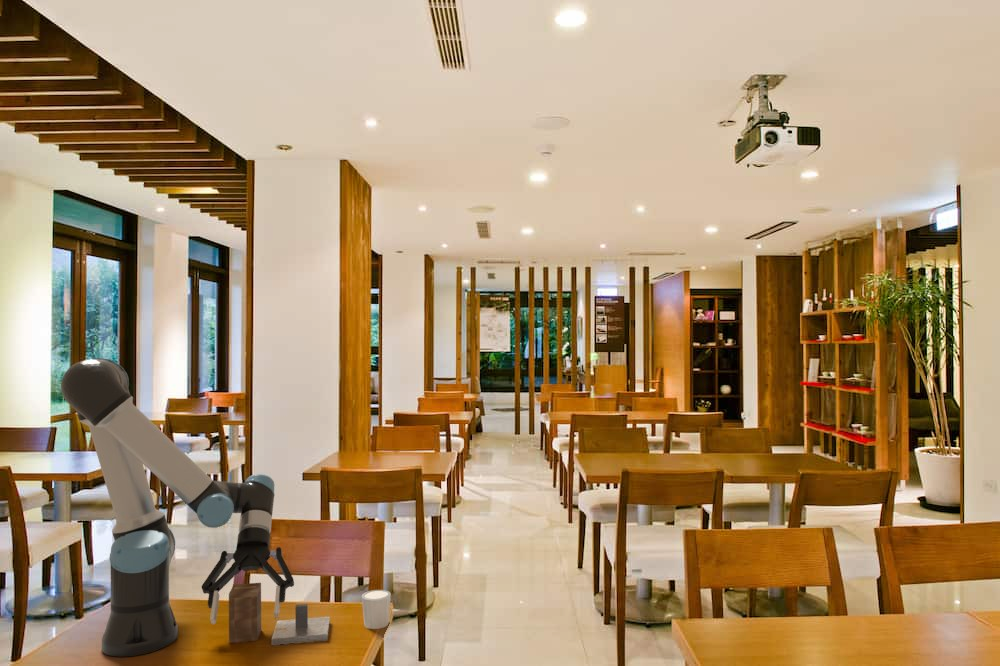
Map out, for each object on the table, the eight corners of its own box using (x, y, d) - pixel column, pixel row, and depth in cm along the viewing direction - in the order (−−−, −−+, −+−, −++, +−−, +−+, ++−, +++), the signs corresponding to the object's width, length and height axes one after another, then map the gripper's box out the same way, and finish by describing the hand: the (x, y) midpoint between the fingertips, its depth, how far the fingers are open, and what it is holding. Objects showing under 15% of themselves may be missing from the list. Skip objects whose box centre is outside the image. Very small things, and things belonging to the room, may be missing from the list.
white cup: (384, 631, 159) (384, 600, 159) (357, 629, 160) (356, 598, 160) (395, 619, 165) (395, 590, 166) (368, 617, 167) (368, 588, 167)
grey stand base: (271, 645, 152) (271, 616, 152) (277, 627, 161) (277, 599, 162) (327, 640, 154) (327, 611, 154) (329, 622, 164) (329, 595, 164)
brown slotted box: (229, 643, 153) (228, 593, 153) (234, 632, 159) (233, 583, 159) (257, 641, 154) (256, 590, 154) (261, 630, 160) (261, 581, 160)
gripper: (307, 537, 175) (303, 620, 160) (203, 544, 170) (188, 630, 155) (305, 522, 169) (301, 606, 155) (197, 528, 164) (182, 616, 150)
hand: (244, 618), depth 155 cm, fingers open, 13 cm apart
